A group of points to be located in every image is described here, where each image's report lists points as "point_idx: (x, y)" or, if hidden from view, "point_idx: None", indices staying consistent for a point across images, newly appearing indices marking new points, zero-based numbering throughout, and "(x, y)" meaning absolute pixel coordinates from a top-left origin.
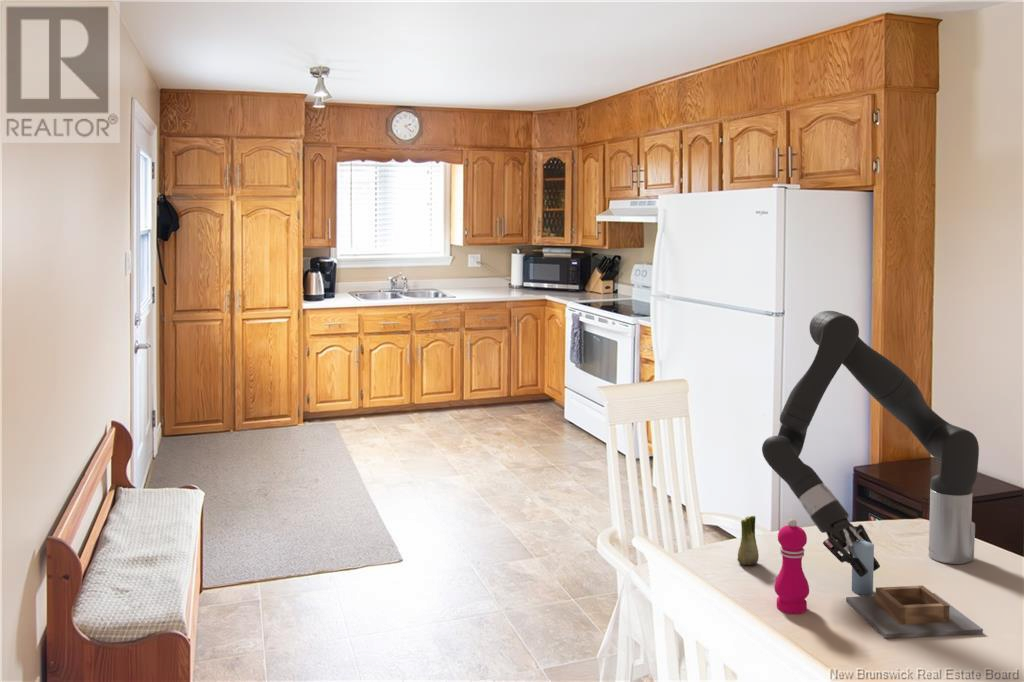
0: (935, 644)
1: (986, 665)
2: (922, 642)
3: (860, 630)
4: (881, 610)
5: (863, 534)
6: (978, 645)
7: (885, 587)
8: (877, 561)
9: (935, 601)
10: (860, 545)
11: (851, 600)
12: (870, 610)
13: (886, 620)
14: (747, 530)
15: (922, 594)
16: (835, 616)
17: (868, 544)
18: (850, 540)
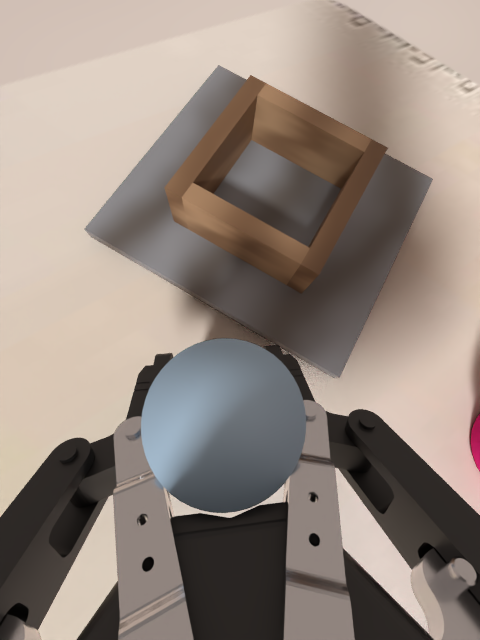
0: (350, 115)
1: (344, 29)
2: (366, 134)
3: (441, 244)
4: (330, 255)
5: (11, 577)
6: (278, 65)
7: (289, 254)
8: (138, 377)
9: (243, 120)
10: (267, 414)
11: (346, 349)
12: (355, 274)
13: (370, 215)
14: None
15: (201, 183)
16: (437, 330)
17: (196, 390)
18: (295, 515)
